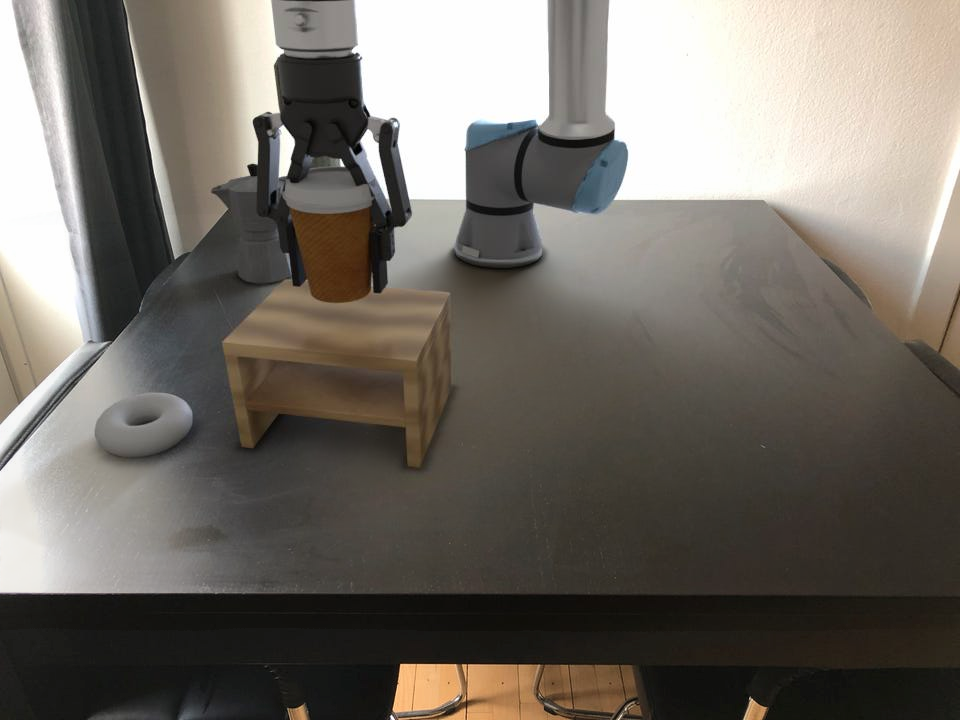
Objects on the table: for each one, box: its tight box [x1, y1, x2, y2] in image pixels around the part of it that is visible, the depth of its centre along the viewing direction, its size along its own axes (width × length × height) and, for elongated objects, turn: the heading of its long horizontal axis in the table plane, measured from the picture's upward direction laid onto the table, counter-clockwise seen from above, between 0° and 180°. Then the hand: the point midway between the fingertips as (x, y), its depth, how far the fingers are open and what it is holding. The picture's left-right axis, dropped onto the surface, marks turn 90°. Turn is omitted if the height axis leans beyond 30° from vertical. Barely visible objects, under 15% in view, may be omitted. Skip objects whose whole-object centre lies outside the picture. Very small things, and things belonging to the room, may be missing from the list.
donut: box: [94, 392, 193, 458], centre depth 81 cm, size 10×4×10 cm
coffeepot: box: [210, 163, 292, 285], centre depth 118 cm, size 15×9×18 cm, turn 113°
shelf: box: [221, 278, 452, 469], centre depth 83 cm, size 16×20×13 cm
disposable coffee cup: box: [282, 166, 381, 303], centre depth 75 cm, size 10×10×12 cm
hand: (340, 284), depth 78 cm, fingers closed on disposable coffee cup, 8 cm apart
